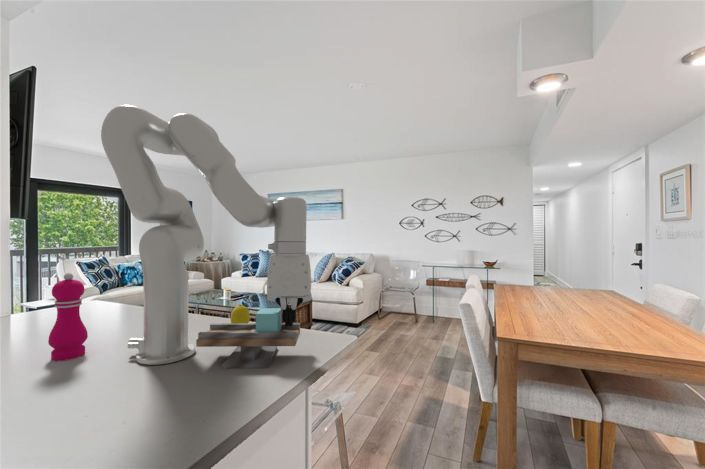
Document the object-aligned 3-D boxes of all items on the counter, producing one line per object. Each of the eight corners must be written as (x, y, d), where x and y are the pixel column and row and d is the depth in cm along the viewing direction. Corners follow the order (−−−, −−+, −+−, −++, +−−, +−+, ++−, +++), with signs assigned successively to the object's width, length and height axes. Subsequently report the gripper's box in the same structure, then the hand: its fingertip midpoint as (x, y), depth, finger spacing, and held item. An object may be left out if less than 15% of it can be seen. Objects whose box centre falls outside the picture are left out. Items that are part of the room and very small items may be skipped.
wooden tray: (194, 368, 74) (194, 336, 74) (214, 349, 86) (214, 321, 86) (294, 367, 75) (294, 335, 75) (300, 348, 87) (300, 321, 87)
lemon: (243, 334, 99) (243, 306, 99) (226, 332, 100) (226, 305, 100) (253, 328, 104) (253, 303, 104) (236, 327, 105) (236, 302, 105)
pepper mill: (94, 353, 82) (94, 272, 82) (58, 364, 76) (58, 275, 76) (77, 348, 85) (77, 270, 85) (41, 358, 79) (41, 273, 79)
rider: (255, 335, 78) (255, 313, 78) (261, 328, 83) (261, 308, 83) (277, 335, 78) (277, 313, 78) (281, 328, 83) (281, 308, 83)
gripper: (255, 249, 77) (254, 329, 77) (320, 250, 77) (319, 329, 77) (262, 247, 84) (261, 320, 84) (322, 248, 85) (321, 320, 85)
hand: (289, 324), depth 81 cm, fingers closed
